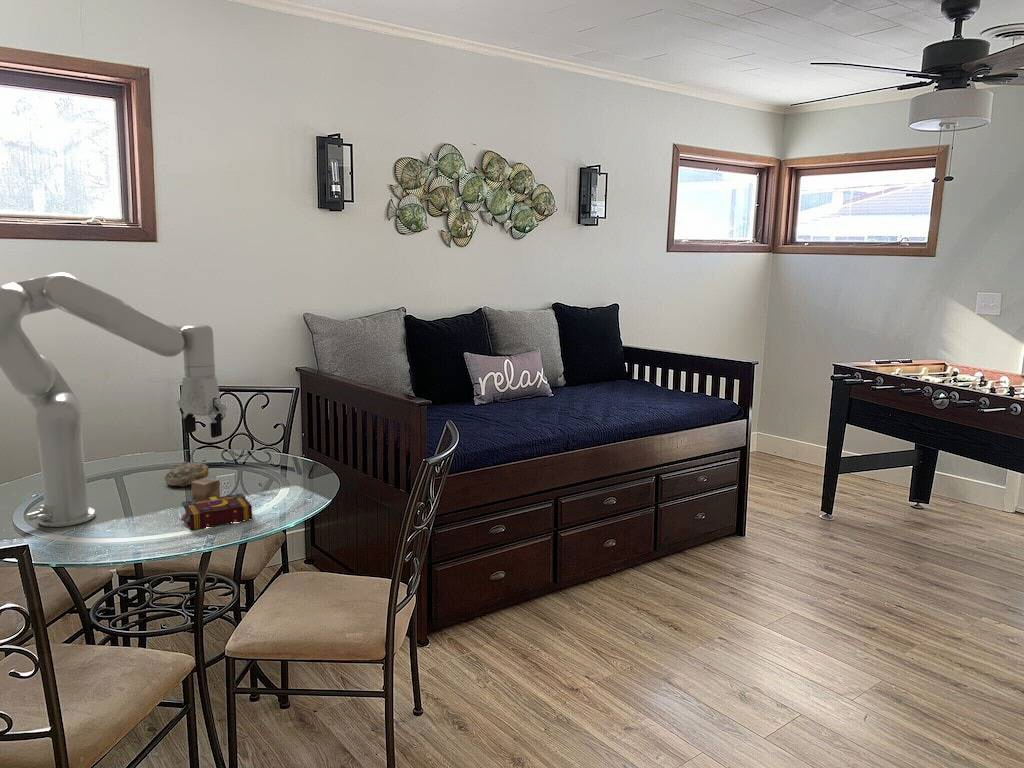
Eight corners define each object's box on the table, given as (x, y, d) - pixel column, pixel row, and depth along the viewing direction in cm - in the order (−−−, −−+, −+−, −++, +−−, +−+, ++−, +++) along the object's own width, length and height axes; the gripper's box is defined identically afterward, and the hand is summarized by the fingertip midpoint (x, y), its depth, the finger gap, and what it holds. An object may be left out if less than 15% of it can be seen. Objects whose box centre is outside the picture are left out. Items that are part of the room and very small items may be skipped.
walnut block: (205, 506, 211) (204, 484, 210) (192, 503, 213) (191, 481, 212) (220, 501, 215) (219, 480, 214) (207, 498, 217) (206, 477, 216)
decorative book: (253, 522, 200) (252, 503, 199) (185, 533, 192) (184, 513, 191) (242, 509, 210) (242, 491, 209) (178, 519, 201) (176, 500, 200)
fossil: (171, 490, 223) (157, 461, 226) (174, 502, 229) (160, 474, 233) (212, 472, 228) (198, 445, 232) (214, 484, 235) (200, 458, 239)
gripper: (165, 370, 209) (169, 433, 212) (212, 376, 201) (215, 441, 204) (188, 367, 216) (191, 427, 219) (234, 372, 208) (237, 435, 211)
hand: (203, 434), depth 212 cm, fingers open, 9 cm apart
